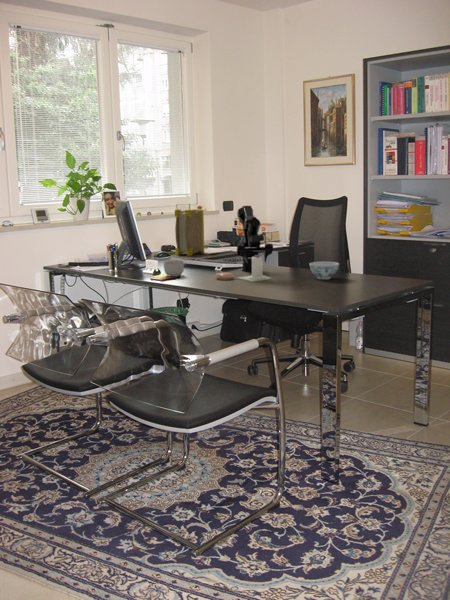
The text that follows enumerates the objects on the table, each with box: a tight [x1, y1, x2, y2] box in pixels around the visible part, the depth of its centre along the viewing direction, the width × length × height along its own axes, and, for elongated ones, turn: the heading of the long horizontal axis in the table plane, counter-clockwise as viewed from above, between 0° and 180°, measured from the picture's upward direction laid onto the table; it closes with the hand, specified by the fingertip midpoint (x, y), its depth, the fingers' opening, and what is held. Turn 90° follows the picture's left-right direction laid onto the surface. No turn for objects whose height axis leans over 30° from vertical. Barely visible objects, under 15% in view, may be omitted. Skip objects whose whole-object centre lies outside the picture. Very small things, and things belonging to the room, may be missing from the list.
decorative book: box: [174, 208, 205, 257], centre depth 459 cm, size 20×11×30 cm, turn 145°
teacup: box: [163, 259, 185, 277], centre depth 374 cm, size 14×11×8 cm
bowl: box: [215, 272, 234, 281], centre depth 360 cm, size 9×9×2 cm
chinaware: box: [309, 261, 340, 280], centre depth 354 cm, size 15×15×8 cm
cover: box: [248, 254, 267, 279], centre depth 355 cm, size 9×9×12 cm
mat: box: [237, 275, 273, 283], centre depth 358 cm, size 13×13×1 cm
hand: (256, 262), depth 357 cm, fingers open, 9 cm apart
